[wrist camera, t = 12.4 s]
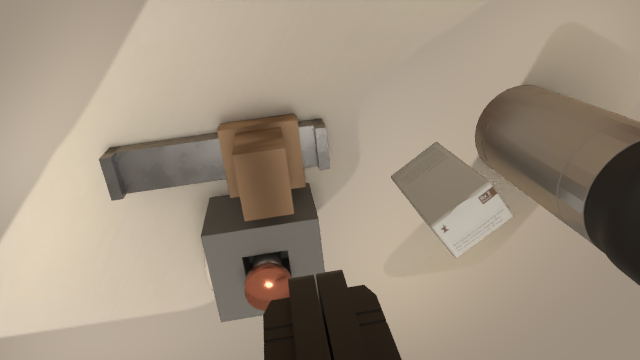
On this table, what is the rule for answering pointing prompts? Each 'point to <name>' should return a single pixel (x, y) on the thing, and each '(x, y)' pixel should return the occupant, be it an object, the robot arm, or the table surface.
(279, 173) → the stepped wooden block
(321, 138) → the rail
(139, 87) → the table surface
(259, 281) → the plunger
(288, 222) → the cabinet
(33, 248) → the table surface
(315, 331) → the robot arm
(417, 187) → the skincare box
